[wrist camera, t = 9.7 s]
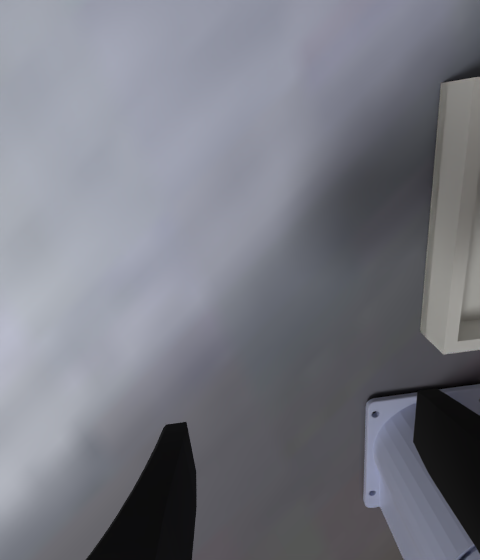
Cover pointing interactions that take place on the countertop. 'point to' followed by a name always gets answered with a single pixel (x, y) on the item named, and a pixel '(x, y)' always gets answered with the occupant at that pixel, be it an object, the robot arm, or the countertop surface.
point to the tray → (454, 224)
